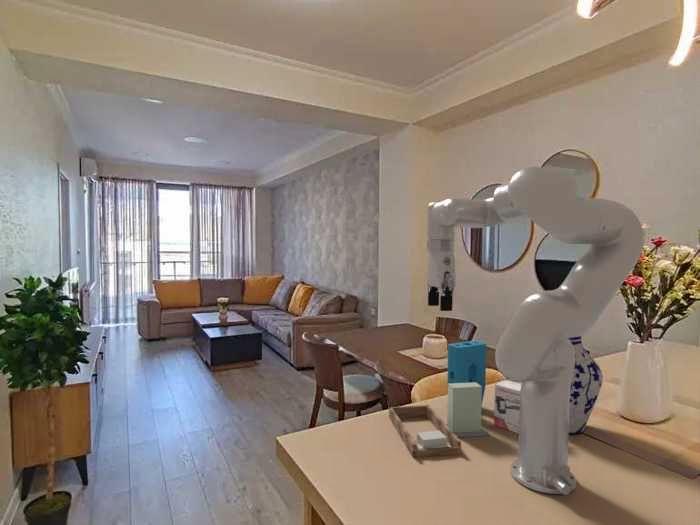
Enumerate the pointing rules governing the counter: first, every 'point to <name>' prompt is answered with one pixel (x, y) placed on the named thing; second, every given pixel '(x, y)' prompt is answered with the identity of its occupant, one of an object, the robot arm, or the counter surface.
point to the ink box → (507, 405)
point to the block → (467, 363)
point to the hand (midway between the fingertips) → (439, 308)
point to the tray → (435, 420)
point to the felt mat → (472, 433)
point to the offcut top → (431, 439)
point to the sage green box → (464, 407)
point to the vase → (583, 387)
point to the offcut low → (426, 448)
